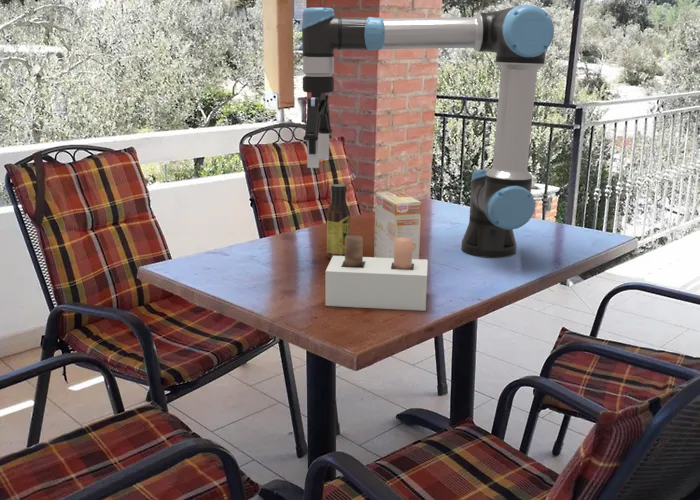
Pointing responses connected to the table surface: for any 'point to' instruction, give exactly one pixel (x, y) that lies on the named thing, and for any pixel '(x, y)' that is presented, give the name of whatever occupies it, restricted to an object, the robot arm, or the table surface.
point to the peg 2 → (403, 253)
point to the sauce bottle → (337, 222)
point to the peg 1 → (354, 251)
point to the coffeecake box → (396, 222)
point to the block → (376, 284)
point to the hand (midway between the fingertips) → (318, 163)
